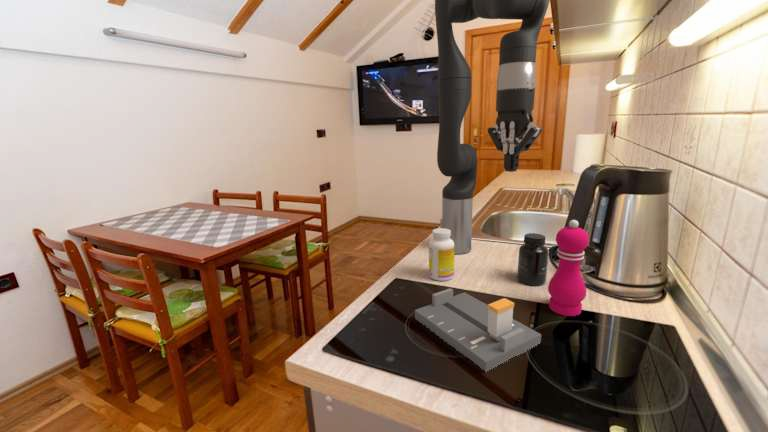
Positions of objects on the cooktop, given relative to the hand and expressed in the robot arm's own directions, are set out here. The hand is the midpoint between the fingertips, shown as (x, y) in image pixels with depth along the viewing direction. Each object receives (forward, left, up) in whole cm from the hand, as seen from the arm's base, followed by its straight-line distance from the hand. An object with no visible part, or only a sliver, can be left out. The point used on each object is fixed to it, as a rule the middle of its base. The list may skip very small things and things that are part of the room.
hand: (510, 171), depth 78 cm
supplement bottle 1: (-15, -7, -29) cm, 34 cm away
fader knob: (+14, -18, -27) cm, 35 cm away
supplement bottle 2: (0, +10, -29) cm, 31 cm away
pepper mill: (+13, +4, -29) cm, 32 cm away
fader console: (+8, -18, -29) cm, 35 cm away
